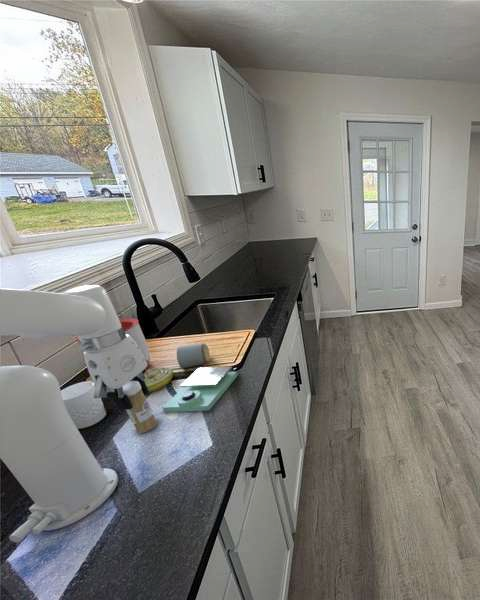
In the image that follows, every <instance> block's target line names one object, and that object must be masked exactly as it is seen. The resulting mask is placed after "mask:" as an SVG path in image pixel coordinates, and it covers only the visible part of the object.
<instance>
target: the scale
mask: <svg viewBox="0 0 480 600" xmlns="http://www.w3.org/2000/svg"><path fill="white" fill-rule="evenodd" d="M237 377H238V372H237V371H229V372H228V374H227V375H226V376H225V377H224V378H223V379H222V380H221V381H220V383H219V384H218V385H217V386H198V387H181V388H180V389H179V391H178V392H176V393H175V394H174V396H173V397H171V398H170V399H169V400H168V401H167V402H166V404H164V405H163V406H162V410H163V413H173V412H174V413H175V412H177V413H179V412H203V411H204V412H206V411H210V410H211V409H212V408H213V407H214V405H215V404H216V403H217V402H218V401H219V399H220V398H221V397H222V396H223V394H224V393H225V392H226V391H227V390H228V388H229V387H230V386H231V385H232V384H233V382H234V381H235V380H236V378H237ZM188 391H193V393H194V395H195V396H194V398H192V399H190V400H187V401H185V400H184V399H183V394H184V393H186V392H188Z"/></svg>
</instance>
